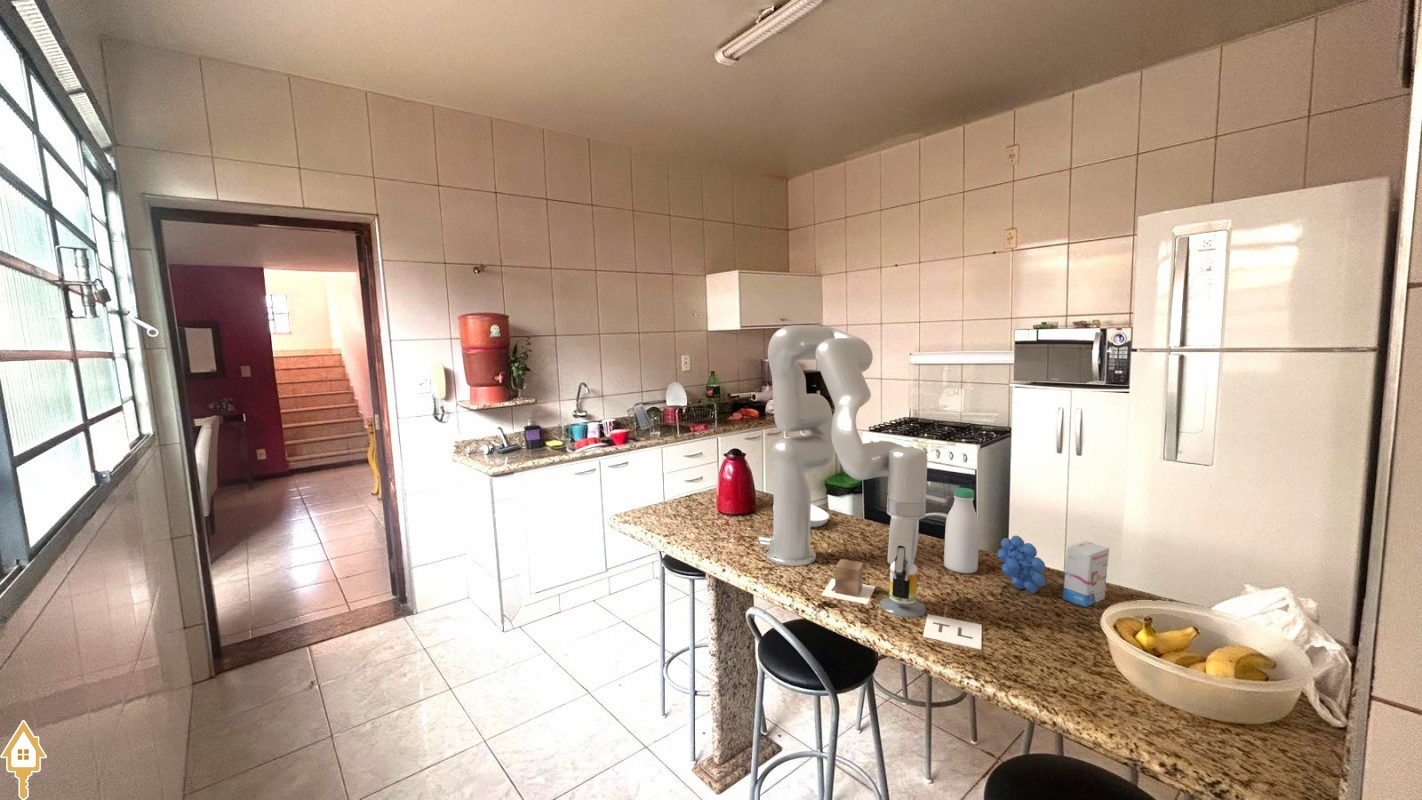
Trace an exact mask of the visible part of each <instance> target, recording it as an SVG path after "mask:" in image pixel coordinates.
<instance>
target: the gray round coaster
mask: <svg viewBox="0 0 1422 800" xmlns="http://www.w3.org/2000/svg"><path fill="white" fill-rule="evenodd" d="M880 607H881V608H882V609H883V610H884V611H885V612H887V613H889V614H891V615H894V616H897V617H900V618H901V617H902V618H918V617H922V616H923V615H925V613H926V611H927V610H926V606H925V605H924V604H923V602H920V601H919V600H916V601H915V602H914V603H911V604H901V603H897V602H895V601H893V600H892V599H891V598H890V596H887V597H884V598H882V599H881V600H880Z"/></svg>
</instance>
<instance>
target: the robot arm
mask: <svg viewBox="0 0 1422 800" xmlns="http://www.w3.org/2000/svg"><path fill="white" fill-rule="evenodd" d="M768 343H769V344H768V346H767V347H768V348H767V360H768V365H769V369H770V374H771V375H770V376H771V381H772V399H773V401H772V402H773V417H774V419H773V420H774V423H775V427H777V429H778V430H779V431H781V432H785V433H791V432H792V433H795V432H803V431H804V435H799V436H789V437H785V438H782V439H779V440H777V441H776V442H775V443H774V444H773V445H772V447H771V449H770V451H769V453H770V454H769V458H770V459H769V460H770V461H769V462H770V466H771V471H772V480H773V481H772V483H773V505H774V510H773V524H772V526H773V527H772V528H773V529H772V530H773V531H772V533H773V534H772V536H771V537H767V536H761V535H760V536H759V537H758V544H759V546H760V547H763V548H765V547H766V548H767V552H766V556H767V558H768V559H769V560H770V561H771V562H773V563H775V564H778V565H782V566H786V567H787V566H788V567H800V566H807V565H810V564H812V563H814V562H815V561H816V559H817V555H816V552H815V551H814V550H812V548H811V527H810V514H811V504H812V499H811V498H812V495H811V494H812V493H811V488H810V484H809V482H808V481H807V478H806V476H805V475H806V474H807V473H812V472H819V471H823V470H825V469H827V468H829V467H830V465H831V464H832V462H833V459H834V453H835V454H836V456H837V458H838V459H837V460H839V463H840V465H841V468H842V469H843V471H844V472H845V473H846V474H847V475H848V476H849V477H851V478H852V479H853V480H858V481H863V480H864V481H865V480H869V479H875V478H881V477H887V497H886V499H887V500H886V513H887V515H889V516H890V522H889V530H888V531H889V533H888V545H887V546H888V547H887V563H888V564H889V565H891V563H893V562H894V561H895V566H894V577H893V591H892V595H893V596H894V597H898V598H903V599H908V598H909V584H910V580H909V579H908V575H909V567H910V566H912V564H914V563H915V559H916V555H917V549H918V541H919V540H918V539H919V528H920V527H919V525H920V524H919V522H920V520H921V519H924V518H925V516H926V506H927V505H926V502H927V501H926V499H927V479H928V478H927V477H928V476H927V475H928V454H927V453H926V451H924V450H923V449H921V448H919V447H918V448H917V447H911V446H910V447H909V446H903V445H900V444H898V443H895V442H893V441H886V440H884V441H883V440H881V441H871V442H866V443H865V442H864V443H863V442H862V439H861V436H860V434H859V431H858V428H857V420H856V419H857V413H858V411H859V410H860V409H861V407H863V406H864V405H866V403H868V402H869V401H870V400H871V396H872V394H871V393H872V392H871V390H870V388H869V386H868V383H867V381H866V379H865V377H864V375H863V373H864V372H866V371H867V370H868V369H870V368H871V365H872V364H873V352H872V348H871V347H870V345H869V344H868V343H867V341H865V340H864V339H863V338H860V337H858V336H856V335H853V334H850V333H847V332H845V331H843V330H839V329H837V328H834V327H830V326H825V325H824V326H821V325H799V324H797V325H796V324H795V325H787V326H784V327H781V328H779V329H778V330H776V331H775V332H774V333H773V335H772V336H771V338H770V340H769V342H768ZM800 360H807V361H808V360H809V361H812V360H813V361H815V362H816V364H817V366H818V369H819V371H820V373H821V376H822V379H823V381H824V384H825V385H826V386H825V387H826V388H827V390H828V393H829V395H830V399H831V400H832V403H833V406H834V412H833V411H832V408H831V406H830V403H829V401H828V400H827V399H826V398H825V397H824V396H823V395H821V394H819V393H807V382H806V381H807V379H806V375H805V373H804V371H803V369H802V367H801V365H800V364H799V362H798V361H800ZM832 412H833V413H832ZM904 561H905V562H907V565H906V564H904ZM913 562H914V563H913ZM903 567H905V568H906V572H905V570H903Z"/></svg>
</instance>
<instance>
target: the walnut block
mask: <svg viewBox="0 0 1422 800" xmlns="http://www.w3.org/2000/svg"><path fill="white" fill-rule="evenodd" d="M863 573H864V563H863V562H862V561H861V562H860V561H856V560H849V559H842V558H840V560H839V561H838V562H837V564H836V566H835V574H834V575H835V578H834V579H835V593H839V594H844V595H849V596H854V597H858V596H859V594H860V592H861V590H862V584H863V575H864V574H863Z"/></svg>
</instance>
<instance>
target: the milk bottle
mask: <svg viewBox="0 0 1422 800" xmlns="http://www.w3.org/2000/svg"><path fill="white" fill-rule="evenodd" d="M953 498H954V501H953V504H952V505H951V508H950V510H949V512H948V513H947V517H946V521H945V530H944V531H945V533H944V550H943V551H944V552H943V554H944V555H943V565H944V567H945V568H946V569H948V570H949V571H952V572H955V573H958V574H959V573H960V574H972V573H973V574H974V573H976V572H977V571H978V568H979V567H978V566H979V552H980V551H979V548H980V521H979V520H980V519H979V517H978V514H977V512H976V509H975V507H974V503H973V501H974V499H975V490H974V489H972V488H967V487H956V488H954V490H953Z"/></svg>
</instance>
